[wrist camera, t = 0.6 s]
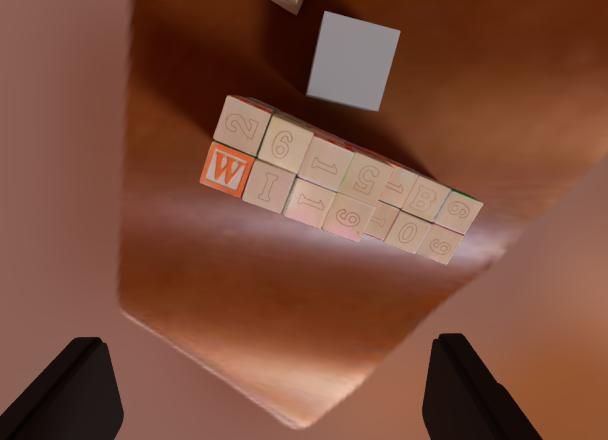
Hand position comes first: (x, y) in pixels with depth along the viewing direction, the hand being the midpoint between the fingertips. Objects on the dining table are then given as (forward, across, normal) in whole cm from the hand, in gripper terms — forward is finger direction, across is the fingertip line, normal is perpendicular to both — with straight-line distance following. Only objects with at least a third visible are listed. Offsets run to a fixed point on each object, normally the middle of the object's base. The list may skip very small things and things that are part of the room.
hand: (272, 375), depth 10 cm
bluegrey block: (+27, -5, -10) cm, 29 cm away
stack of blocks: (+27, -5, -1) cm, 28 cm away
